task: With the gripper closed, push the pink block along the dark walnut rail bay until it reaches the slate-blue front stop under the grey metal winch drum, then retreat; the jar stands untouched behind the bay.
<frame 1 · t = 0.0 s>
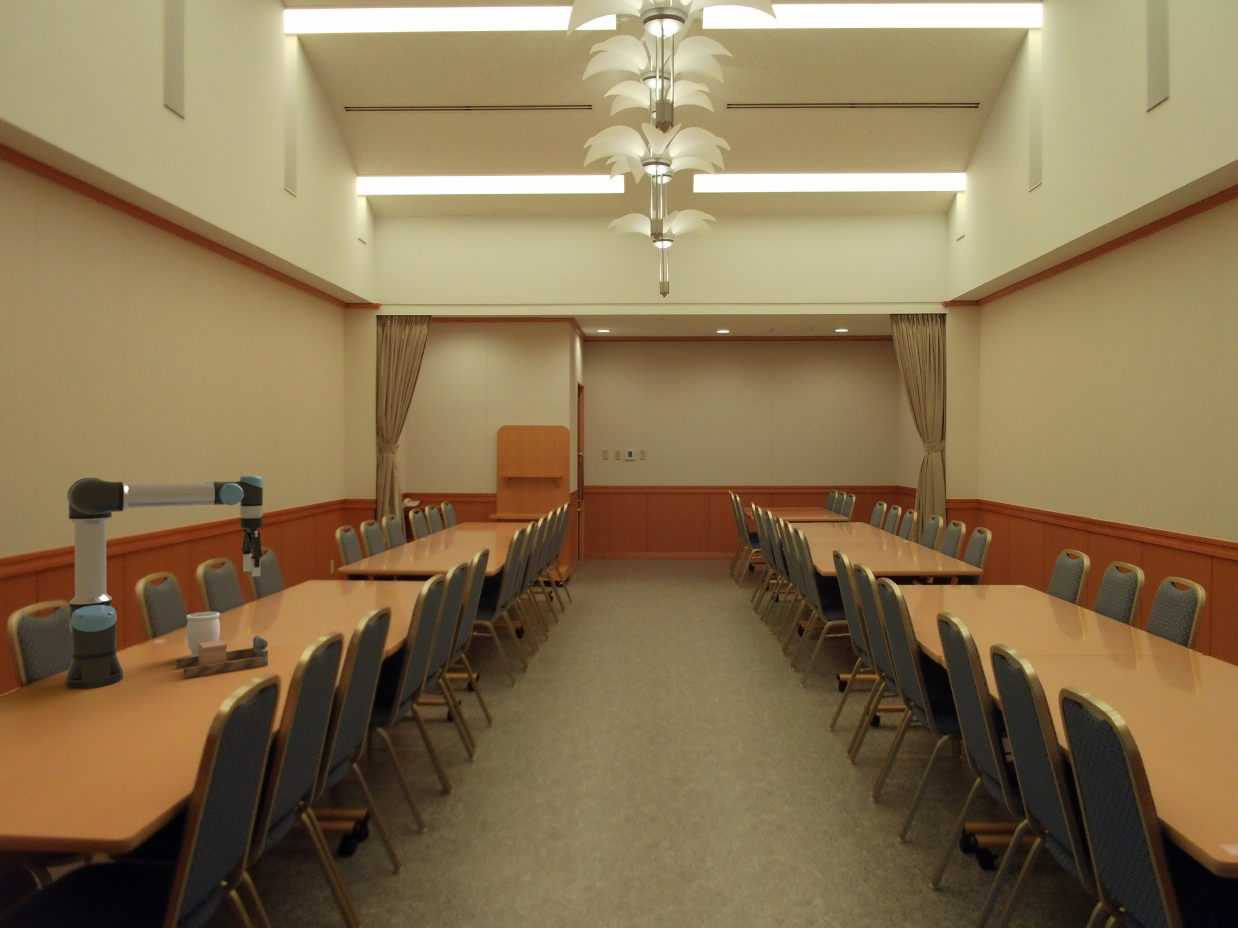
hand: (251, 573, 278), 28 cm above the table, fingers open, 13 cm apart
jar: (203, 656, 268), on the table
pink block: (212, 655, 253), point 4 cm above the table, slide at 0.0 cm
bay: (220, 666, 254), on the table
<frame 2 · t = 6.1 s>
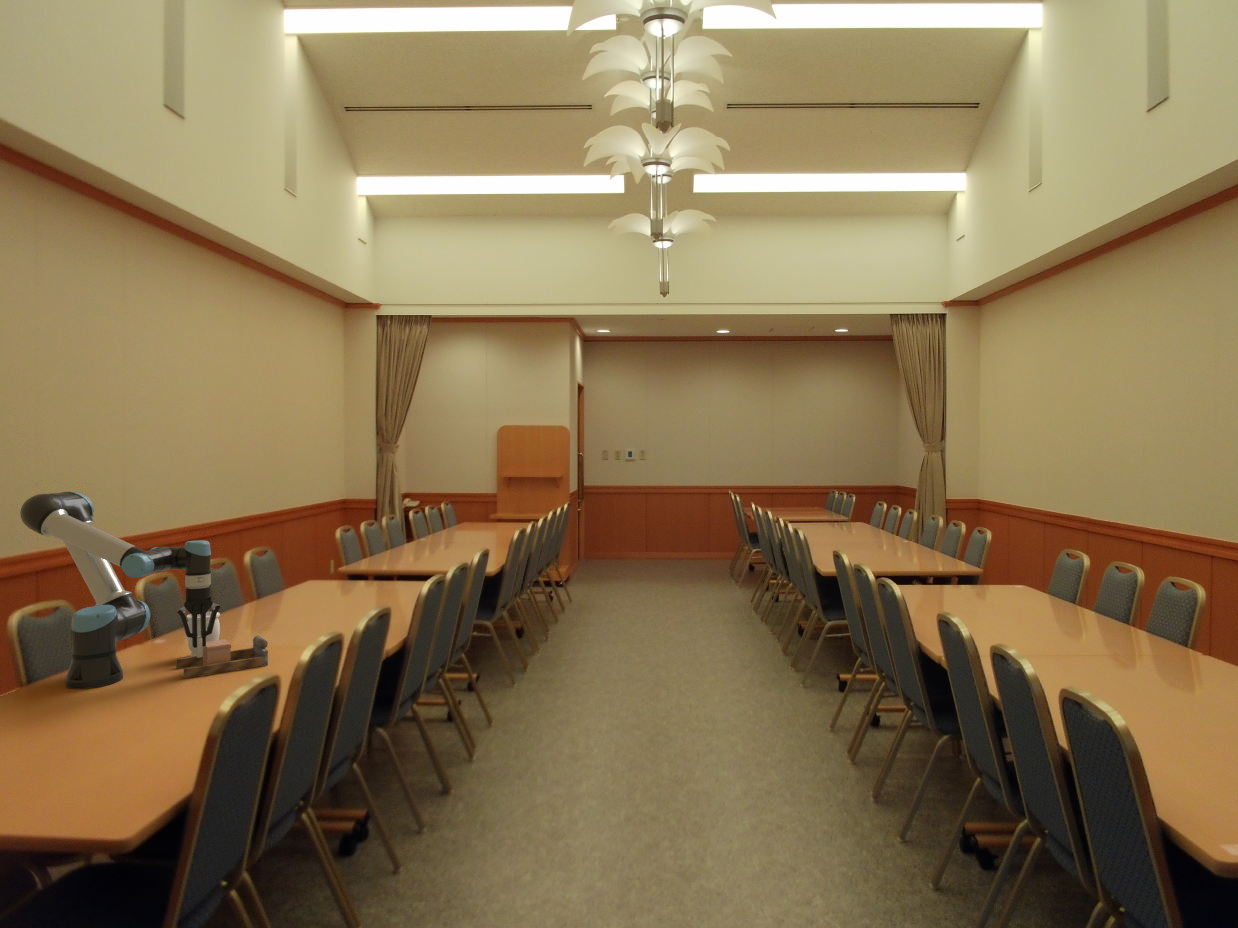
hand: (199, 656, 250), 5 cm above the table, fingers closed
pink block: (216, 654, 253), point 4 cm above the table, slide at 1.3 cm, touching gripper
everything else where it was.
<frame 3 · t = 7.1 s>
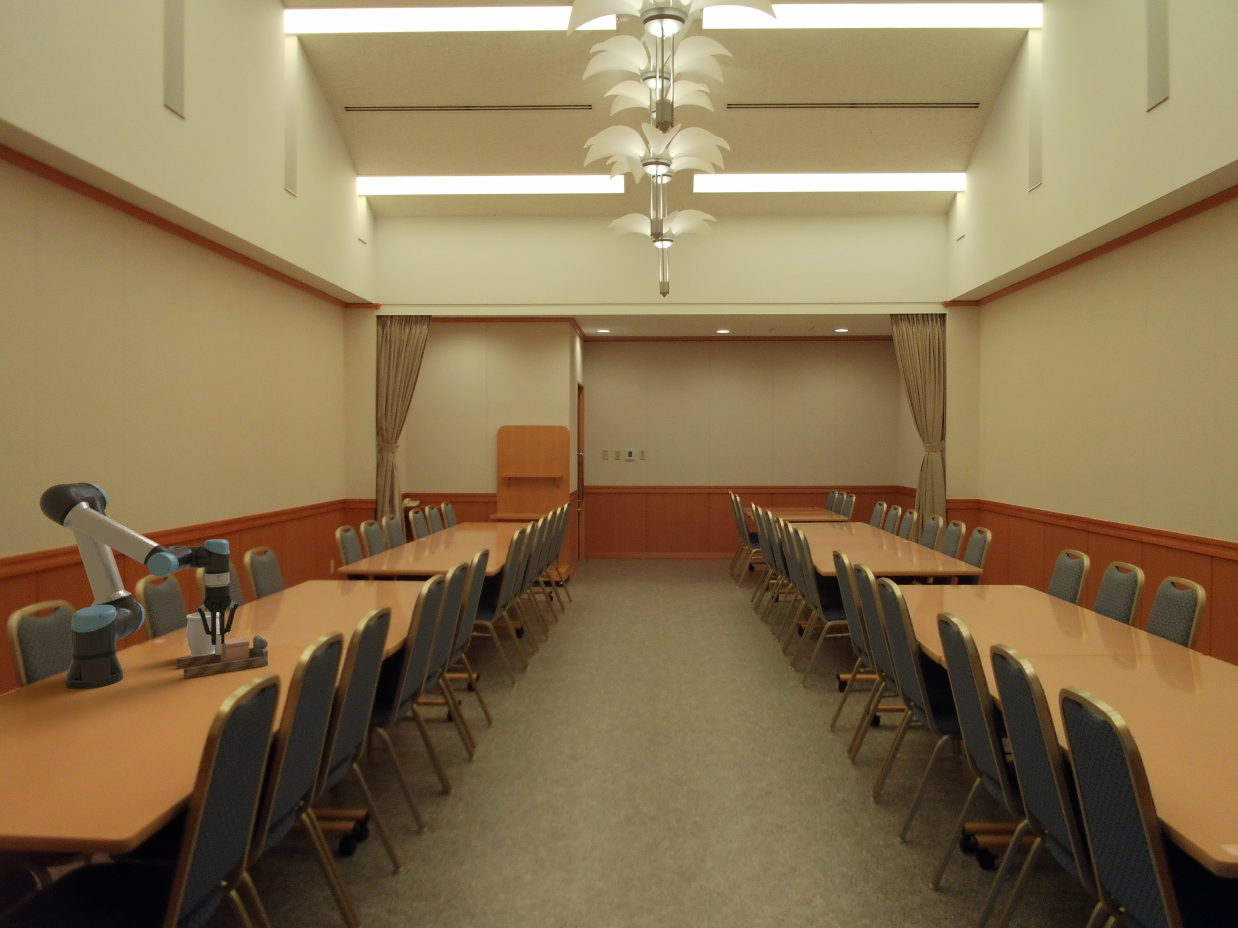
hand: (218, 653, 254), 5 cm above the table, fingers closed
pink block: (235, 652, 257), point 4 cm above the table, slide at 7.0 cm, touching gripper
everything else where it was.
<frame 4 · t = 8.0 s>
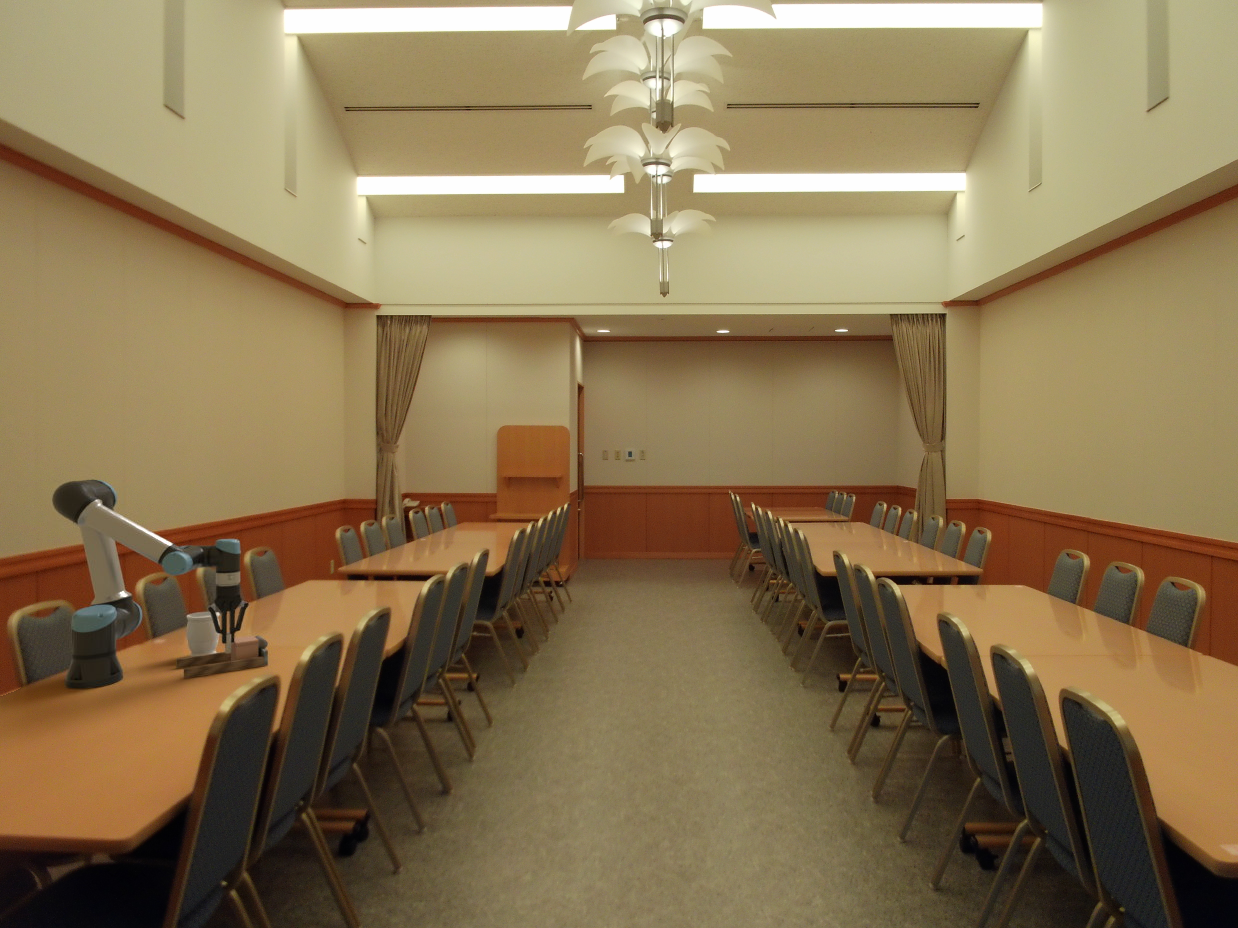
hand: (228, 652, 256), 5 cm above the table, fingers closed
pink block: (244, 650, 259), point 4 cm above the table, slide at 10.1 cm, touching bay, gripper
everything else where it was.
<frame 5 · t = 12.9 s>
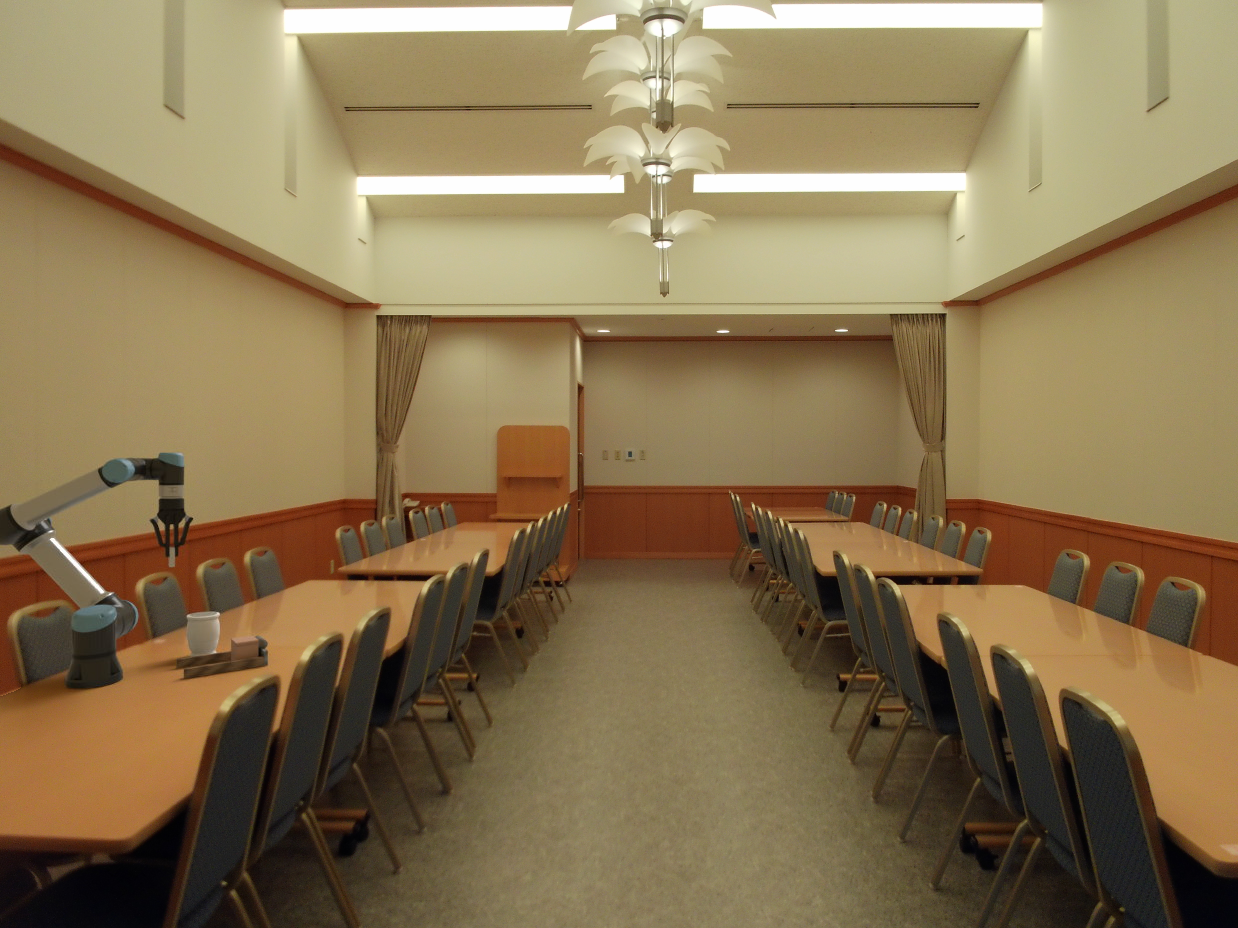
hand: (171, 566, 253), 34 cm above the table, fingers closed
pink block: (244, 650, 259), point 4 cm above the table, slide at 10.1 cm
everything else where it was.
at the end: pink block slide at 10.1 cm; the gripper is holding nothing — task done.
